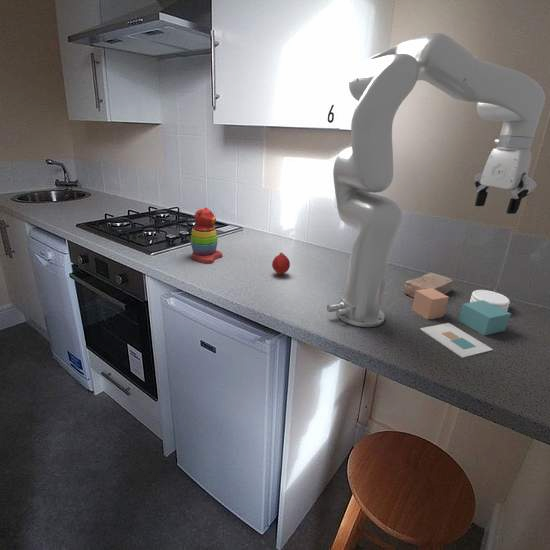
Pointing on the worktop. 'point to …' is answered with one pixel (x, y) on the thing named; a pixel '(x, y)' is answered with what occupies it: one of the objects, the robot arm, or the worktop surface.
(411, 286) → the brick
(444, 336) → the page
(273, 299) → the worktop surface
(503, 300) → the coaster
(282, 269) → the onion
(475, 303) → the base block
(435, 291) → the clay block
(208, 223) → the stacking bear
